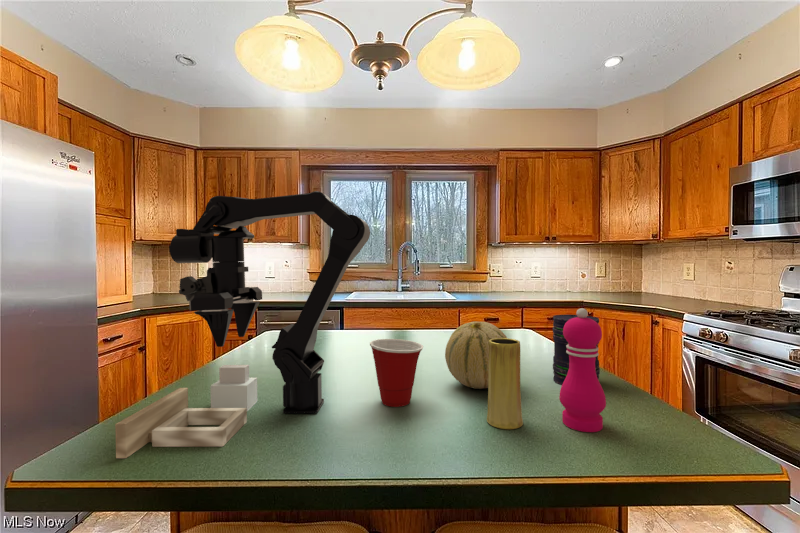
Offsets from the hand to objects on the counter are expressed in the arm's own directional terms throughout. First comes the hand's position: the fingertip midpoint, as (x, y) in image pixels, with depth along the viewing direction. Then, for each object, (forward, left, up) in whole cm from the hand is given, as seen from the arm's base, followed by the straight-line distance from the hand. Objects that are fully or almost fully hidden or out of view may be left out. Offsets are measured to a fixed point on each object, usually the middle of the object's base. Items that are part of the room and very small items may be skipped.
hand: (231, 341), depth 76 cm
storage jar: (-73, -14, -13) cm, 76 cm away
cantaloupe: (-50, -11, -13) cm, 53 cm away
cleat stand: (+1, +12, -13) cm, 18 cm away
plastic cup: (-32, -2, -13) cm, 35 cm away
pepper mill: (-64, +9, -13) cm, 66 cm away
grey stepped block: (0, 0, -13) cm, 13 cm away
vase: (-51, +8, -13) cm, 54 cm away
